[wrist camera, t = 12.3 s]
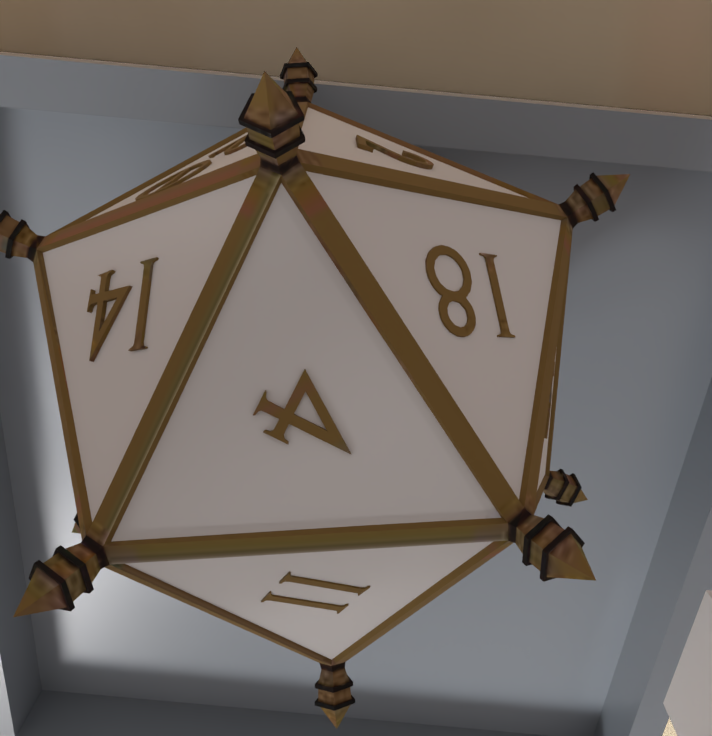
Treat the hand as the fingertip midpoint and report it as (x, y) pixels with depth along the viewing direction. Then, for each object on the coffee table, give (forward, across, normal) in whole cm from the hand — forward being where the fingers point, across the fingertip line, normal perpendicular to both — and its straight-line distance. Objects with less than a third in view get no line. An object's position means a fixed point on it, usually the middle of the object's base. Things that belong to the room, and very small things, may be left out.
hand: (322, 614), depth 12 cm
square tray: (+6, 0, 0) cm, 6 cm away
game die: (+3, 0, 0) cm, 3 cm away
